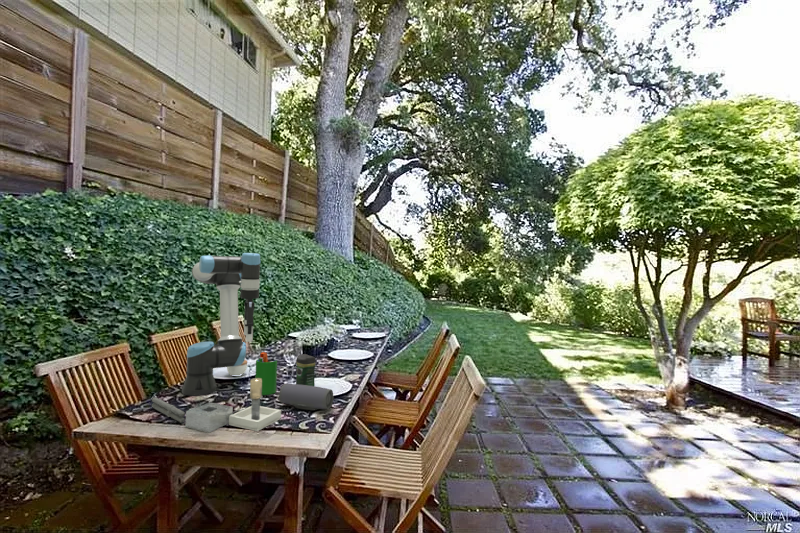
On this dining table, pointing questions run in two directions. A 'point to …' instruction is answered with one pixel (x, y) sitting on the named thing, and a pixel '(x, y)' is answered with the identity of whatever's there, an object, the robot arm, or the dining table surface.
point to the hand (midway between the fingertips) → (248, 338)
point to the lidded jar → (237, 369)
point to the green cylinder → (267, 374)
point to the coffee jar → (305, 370)
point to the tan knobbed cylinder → (255, 397)
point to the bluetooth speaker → (306, 396)
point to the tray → (246, 422)
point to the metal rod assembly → (168, 409)
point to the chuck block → (208, 417)
